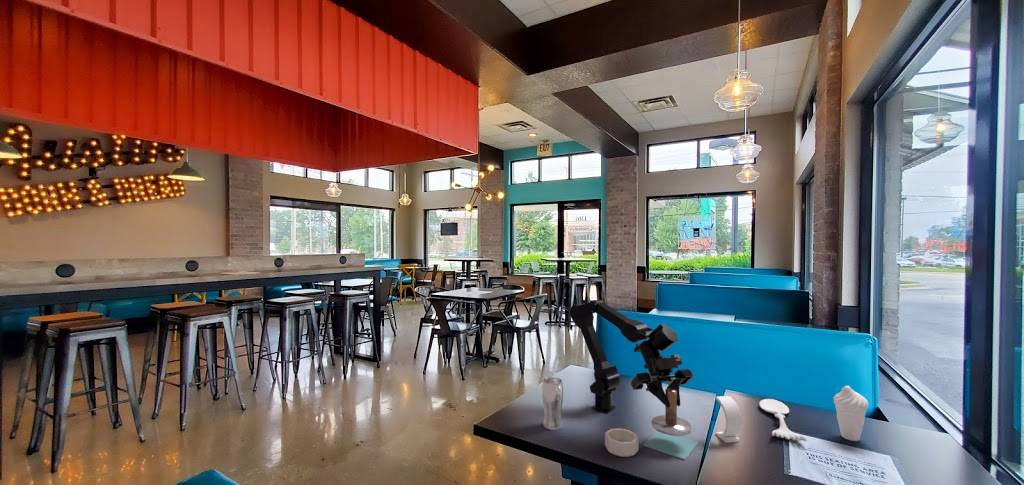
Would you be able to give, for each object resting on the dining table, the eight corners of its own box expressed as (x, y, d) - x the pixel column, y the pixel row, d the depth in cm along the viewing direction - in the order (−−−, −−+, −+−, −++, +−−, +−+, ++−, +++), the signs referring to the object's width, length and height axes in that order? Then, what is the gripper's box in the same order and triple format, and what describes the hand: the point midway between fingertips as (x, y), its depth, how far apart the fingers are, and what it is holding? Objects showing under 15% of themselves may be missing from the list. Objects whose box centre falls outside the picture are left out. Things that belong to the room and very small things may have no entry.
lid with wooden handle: (660, 415, 129) (660, 380, 129) (696, 425, 122) (696, 389, 122) (645, 427, 121) (645, 390, 121) (683, 439, 114) (683, 400, 114)
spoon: (771, 443, 122) (771, 432, 122) (757, 403, 152) (757, 394, 152) (808, 450, 119) (808, 438, 119) (785, 407, 148) (786, 398, 148)
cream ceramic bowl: (614, 438, 126) (614, 425, 125) (642, 448, 120) (642, 434, 120) (600, 450, 119) (600, 436, 119) (628, 460, 113) (628, 446, 113)
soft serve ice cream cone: (860, 433, 128) (860, 382, 128) (874, 446, 120) (874, 392, 120) (828, 429, 130) (828, 380, 130) (839, 442, 123) (839, 389, 122)
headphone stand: (729, 433, 128) (729, 395, 128) (742, 443, 122) (742, 403, 122) (715, 434, 128) (715, 396, 128) (727, 444, 122) (727, 404, 122)
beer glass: (562, 431, 130) (562, 385, 130) (540, 429, 132) (540, 383, 132) (564, 421, 137) (563, 377, 137) (543, 420, 139) (543, 376, 138)
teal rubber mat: (659, 431, 130) (659, 430, 130) (698, 443, 122) (698, 442, 122) (643, 445, 121) (643, 444, 121) (684, 460, 113) (684, 458, 113)
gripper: (635, 347, 123) (657, 397, 112) (689, 343, 127) (715, 391, 117) (622, 365, 131) (641, 414, 120) (674, 360, 135) (696, 407, 124)
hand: (674, 406), depth 120 cm, fingers closed on lid with wooden handle, 3 cm apart
